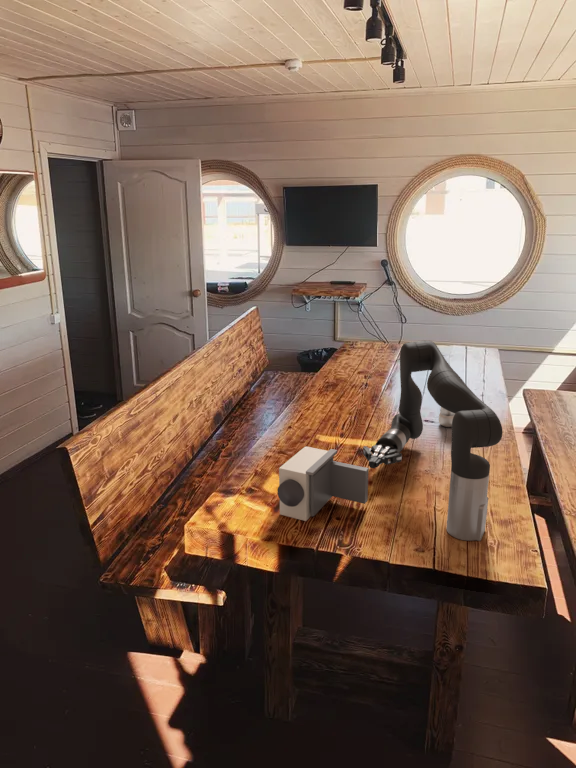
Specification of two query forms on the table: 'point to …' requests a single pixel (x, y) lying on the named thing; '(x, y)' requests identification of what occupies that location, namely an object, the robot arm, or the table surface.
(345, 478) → the side door
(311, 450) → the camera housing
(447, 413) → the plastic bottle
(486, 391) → the table surface
